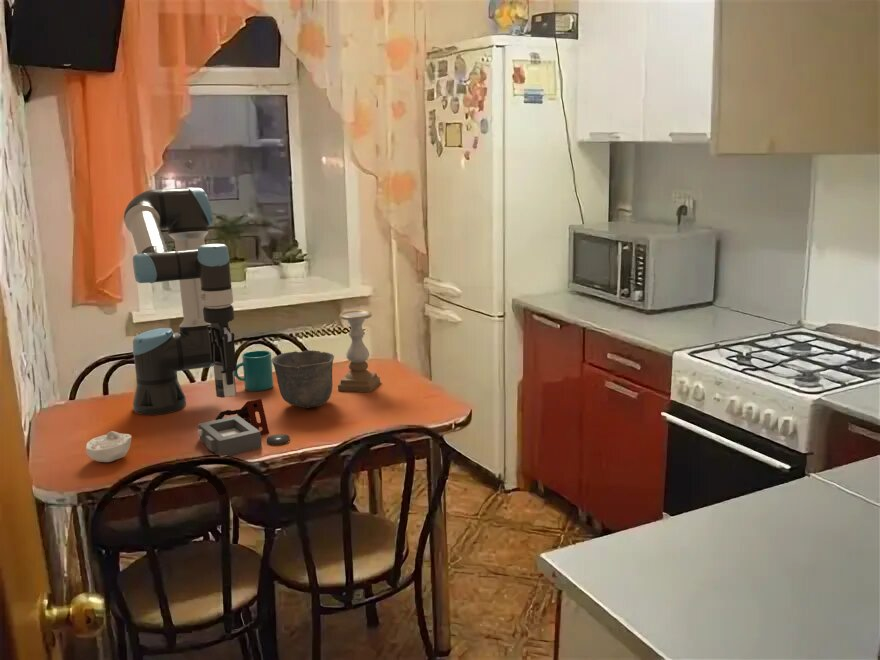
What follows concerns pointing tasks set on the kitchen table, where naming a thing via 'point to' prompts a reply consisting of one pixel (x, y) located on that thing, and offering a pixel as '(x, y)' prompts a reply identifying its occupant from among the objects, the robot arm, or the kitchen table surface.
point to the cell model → (108, 446)
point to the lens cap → (278, 439)
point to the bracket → (250, 414)
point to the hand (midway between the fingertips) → (226, 393)
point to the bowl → (304, 377)
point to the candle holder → (357, 356)
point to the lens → (220, 379)
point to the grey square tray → (229, 436)
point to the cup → (256, 370)
